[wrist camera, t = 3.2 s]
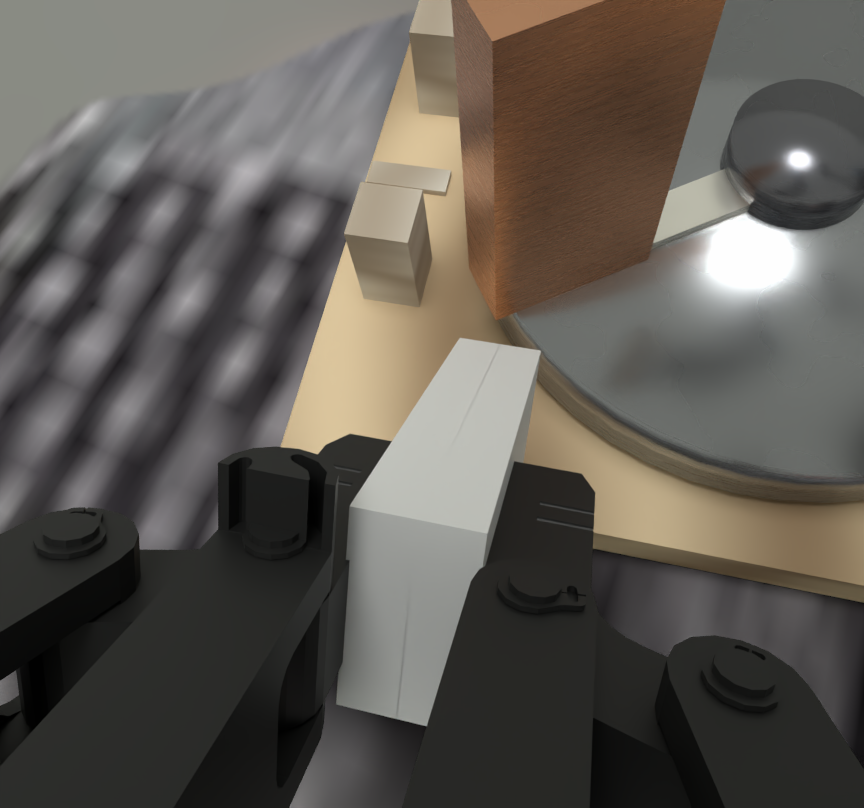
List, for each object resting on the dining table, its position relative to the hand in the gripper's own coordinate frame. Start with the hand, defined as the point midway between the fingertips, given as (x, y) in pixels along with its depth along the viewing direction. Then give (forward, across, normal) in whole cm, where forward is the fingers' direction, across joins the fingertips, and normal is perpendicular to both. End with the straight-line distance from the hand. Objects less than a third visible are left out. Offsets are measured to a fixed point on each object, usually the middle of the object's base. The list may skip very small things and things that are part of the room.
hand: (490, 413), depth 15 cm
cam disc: (+10, +6, +3) cm, 12 cm away
